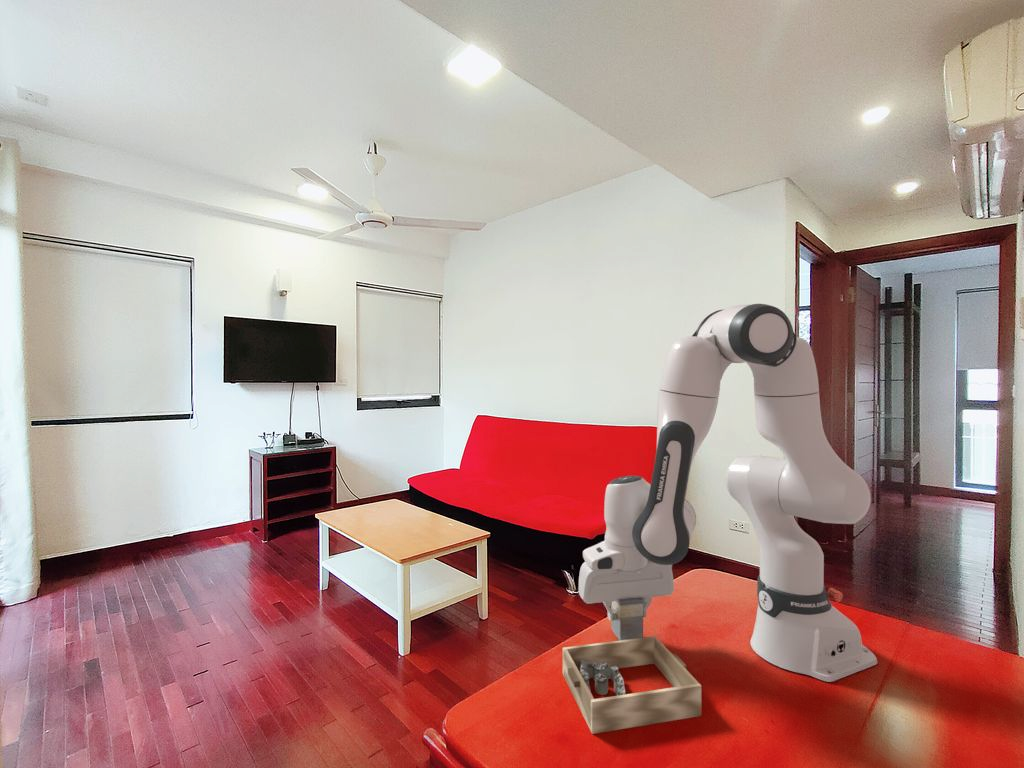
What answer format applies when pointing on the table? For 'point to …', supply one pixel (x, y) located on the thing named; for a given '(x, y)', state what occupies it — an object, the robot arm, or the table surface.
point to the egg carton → (602, 677)
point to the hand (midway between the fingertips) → (626, 617)
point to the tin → (628, 618)
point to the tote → (634, 706)
